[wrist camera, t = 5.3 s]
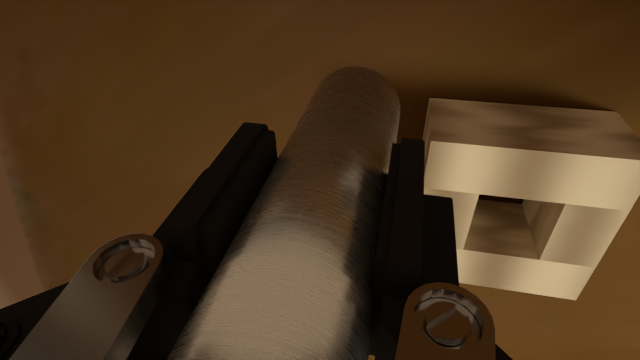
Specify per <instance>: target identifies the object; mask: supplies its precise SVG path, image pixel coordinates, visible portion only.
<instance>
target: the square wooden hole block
mask: <svg viewBox="0 0 640 360" xmlns="http://www.w3.org/2000/svg"><path fill="white" fill-rule="evenodd" d="M422 140H425V164H424V194H427V195H435V196H443V197H451V198H452V199H453V208H454V222H455V236H456V250H457V264H458V278H459V283H465V284H471V285H478V286H485V287H491V288H498V289H505V290H511V291H518V292H525V293H531V294H538V295H545V296H552V297H558V298H565V299H572V300H576V299H577V297H578V296H579V294H580V292H581V291H582V289H583V288H584V286H585V284H586V283H587V281H588V279H589V278H590V276H591V274H592V273H593V271H594V269H595V268H596V266H597V264H598V263H599V261H600V259H601V258H602V256H603V255H604V253H605V251H606V250H607V248H608V246H609V245H610V243H611V241H612V240H613V238H614V236H615V235H616V233H617V231H618V230H619V228H620V226H621V225H622V223H623V221H624V220H625V218H626V217H627V215H628V213H629V212H630V210H631V208H632V207H633V205H634V203H635V202H636V200H637V198H638V197H639V195H640V139H639V138H638V136H637V135H636V134H635V133H634V132H633V131H632V129H631V128H630V127H629V126H628V125H627V124H626V122H625V121H624V120H623V119H622V118H621V116H620V115H619V114H618V113H617V112H613V111H599V110H586V109H572V108H559V107H546V106H532V105H519V104H505V103H492V102H479V101H465V100H452V99H439V98H429V103H428V109H427V115H426V121H425V127H424V133H423V139H422ZM479 194H482V195H491V196H500V197H509V198H518V199H524V200H523V202H522V204H516V203H507V202H499V201H490V200H481V199H478V197H479Z"/></svg>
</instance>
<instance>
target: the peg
mask: <svg viewBox="0 0 640 360" xmlns="http://www.w3.org/2000/svg"><path fill="white" fill-rule="evenodd" d="M399 118H400V101H399V97H398V95H397V92H396V91H395V89H394V87H393V86H392V84H391V83H390V82H389V81H388V80H387V79H386V78H385V77H383V76H382V75H381V74H379V73H377V72H375V71H373V70H371V69H367V68H363V67H345V68H342V69H338V70H336V71H334V72H332V73H330V74H329V75H328V76H326V77H325V78H324V79H323V80H322V81H321V83H320V84H319V85H318V87H317V89H316V91H315V92H314V94H313V96H312V98H311V100H310V101H309V103H308V105H307V107H306V109H305V110H304V112H303V114H302V116H301V118H300V120H299V121H298V123H297V125H296V127H295V129H294V130H293V132H292V134H291V136H290V138H289V139H288V141H287V143H286V145H285V147H284V148H283V150H282V152H281V154H280V156H279V157H278V159H277V161H276V163H275V165H274V166H273V168H272V170H271V172H270V174H269V176H268V177H267V179H266V181H265V183H264V185H263V186H262V188H261V190H260V192H259V194H258V195H257V197H256V199H255V201H254V203H253V204H252V206H251V208H250V210H249V212H248V213H247V215H246V217H245V219H244V221H243V223H242V224H241V226H240V228H239V230H238V232H237V233H236V235H235V237H234V239H233V241H232V242H231V244H230V246H229V248H228V250H227V251H226V253H225V255H224V257H223V259H222V260H221V262H220V264H219V266H218V268H217V269H216V271H215V273H214V275H213V277H212V279H211V280H210V282H209V284H208V286H207V288H206V289H205V291H204V293H203V295H202V297H201V298H200V300H199V302H198V304H197V306H196V307H195V309H194V311H193V313H192V315H191V316H190V318H189V320H188V322H187V324H186V325H185V327H184V329H183V331H182V333H181V335H180V336H179V338H178V340H177V342H176V344H175V345H174V347H173V349H172V351H171V353H170V354H169V356H168V358H167V360H368V356H369V348H370V340H371V333H372V325H373V317H374V309H373V304H372V301H371V295H372V286H373V276H374V267H375V259H376V252H377V244H378V238H379V231H380V224H381V217H382V210H383V203H384V197H385V190H386V183H387V176H388V169H389V162H390V156H391V149H392V143H396V141H397V133H398V126H399Z"/></svg>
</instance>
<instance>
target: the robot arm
mask: <svg viewBox="0 0 640 360" xmlns="http://www.w3.org/2000/svg"><path fill="white" fill-rule="evenodd" d="M276 161H277V150H276V139H275V133H274V131H270V130H269V129H268V127H267V125H266V124H257V123H247V122H246V123H243V124H242V125H241V127H240V128H239V129H238V130H237V132H236V133H235V134H234V136H233V137H232V138H231V139H230V141H229V142H228V143H227V145H226V146H225V147H224V148H223V150H222V151H221V152H220V154H219V155H218V156H217V157H216V159H215V160H214V161H213V163H212V164H211V165H210V166H209V168H207V169H206V170H204V171H203V172H202V174H201V175H200V176H199V177H198V179H197V180H196V181H195V183H194V184H193V185H192V186H191V188H190V189H189V190H188V191H187V193H186V194H185V195H184V197H183V198H182V199H181V200H180V202H179V203H178V204H177V205H176V207H175V208H174V209H173V210H172V212H171V213H170V214H169V216H168V217H167V218H166V219H165V221H164V222H163V223H162V224H161V226H160V227H159V228H158V230H157V231H156V232H155V233H154V235H153V236H151V235H147V234H129V235H124V236H120V237H118V238H115V239H113V240H111V241H108V242H107V243H105V244H104V245H102V246H101V247H99V248H98V249H97V250H96V251H95V252H94V253H93V254H92V255H91V256H90V257H89V258H88V259H87V261H86V262H85V263H84V264H83V266H82V267H81V268H80V270H79V271H78V272H77V273H76V275H75V276H74V277H73V278H72V280H71V281H70V282H68V283H66V284H63V285H60V286H58V287H55V288H53V289H50V290H48V291H45V292H43V293H40V294H38V295H35V296H33V297H30V298H27V299H25V300H23V301H20V302H17V303H15V304H12V305H10V306H7V307H5V308H3V309H0V360H167V358H168V356H169V354H170V353H171V351H172V349H173V347H174V345H175V344H176V342H177V340H178V338H179V336H180V335H181V333H182V331H183V329H184V327H185V325H186V324H187V322H188V320H189V318H190V316H191V315H192V313H193V311H194V309H195V307H196V306H197V304H198V302H199V300H200V298H201V297H202V295H203V293H204V291H205V289H206V288H207V286H208V284H209V282H210V280H211V279H212V277H213V275H214V273H215V271H216V269H217V268H218V266H219V264H220V262H221V260H222V259H223V257H224V255H225V253H226V251H227V250H228V248H229V246H230V244H231V242H232V241H233V239H234V237H235V235H236V233H237V232H238V230H239V228H240V226H241V224H242V223H243V221H244V219H245V217H246V215H247V213H248V212H249V210H250V208H251V206H252V204H253V203H254V201H255V199H256V197H257V195H258V194H259V192H260V190H261V188H262V186H263V185H264V183H265V181H266V179H267V177H268V176H269V174H270V172H271V170H272V168H273V166H274V165H275V163H276ZM424 164H425V140H416V139H406V138H402V142H401V144H397V143H392V149H391V156H390V162H389V169H388V176H387V183H386V190H385V197H384V203H383V210H382V217H381V224H380V231H379V238H378V244H377V252H376V259H375V267H374V276H373V286H372V295H371V301H372V304H373V309H374V317H373V325H372V333H371V340H370V348H369V355H374V356H375V360H512V359H511V358H510V357H509V356H508V355H507V354H506V353H505V352H504V351H503V350H502V349H501V348H499V347H498V346H497V345H496V344H495V328H494V324H493V319H492V316H491V314H490V312H489V311H488V309H487V307H486V306H485V305H484V304H483V303H482V302H481V301H480V300H479V299H478V298H477V297H476V296H475V295H474V294H472V293H471V292H469V291H467V290H466V289H464V288H462V287H459V278H458V264H457V250H456V236H455V222H454V208H453V199H452V198H451V197H443V196H435V195H427V194H424Z"/></svg>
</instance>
